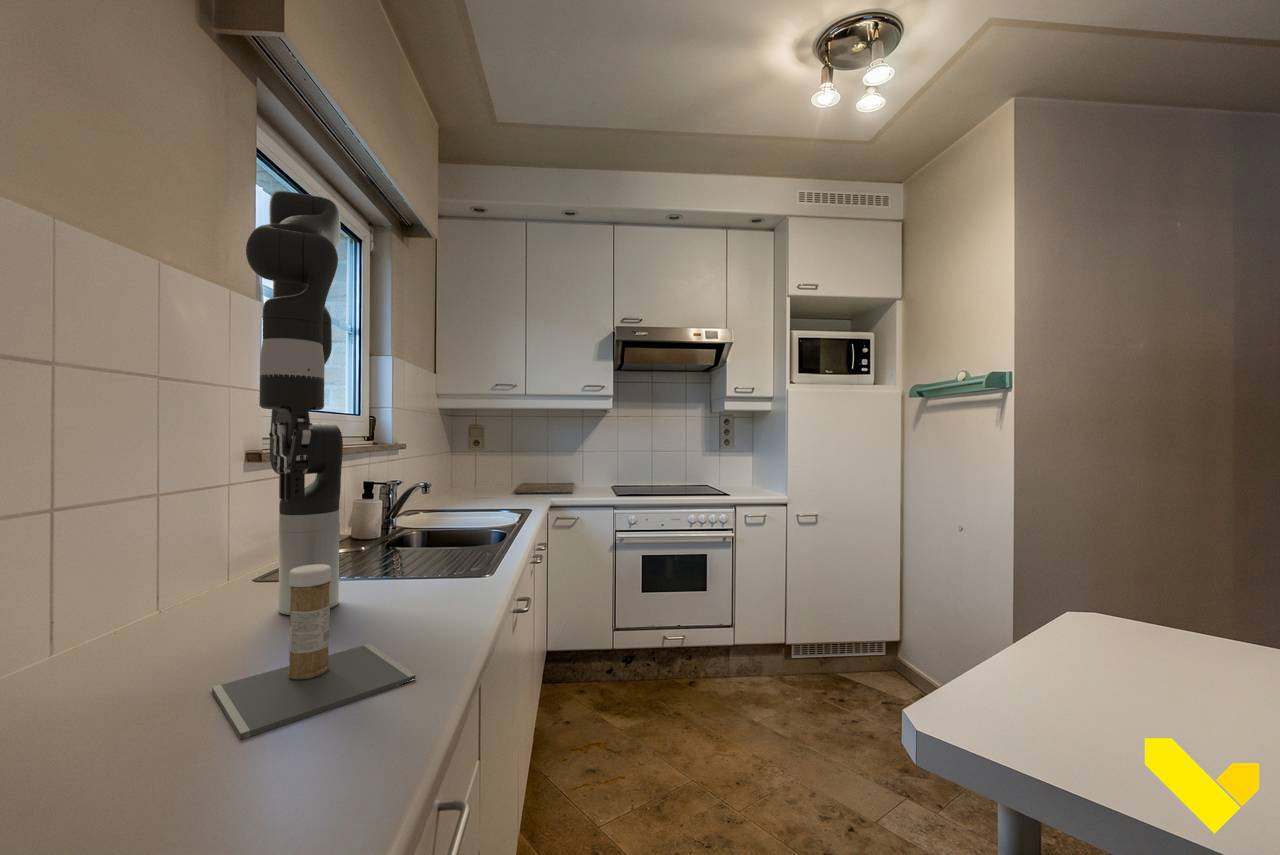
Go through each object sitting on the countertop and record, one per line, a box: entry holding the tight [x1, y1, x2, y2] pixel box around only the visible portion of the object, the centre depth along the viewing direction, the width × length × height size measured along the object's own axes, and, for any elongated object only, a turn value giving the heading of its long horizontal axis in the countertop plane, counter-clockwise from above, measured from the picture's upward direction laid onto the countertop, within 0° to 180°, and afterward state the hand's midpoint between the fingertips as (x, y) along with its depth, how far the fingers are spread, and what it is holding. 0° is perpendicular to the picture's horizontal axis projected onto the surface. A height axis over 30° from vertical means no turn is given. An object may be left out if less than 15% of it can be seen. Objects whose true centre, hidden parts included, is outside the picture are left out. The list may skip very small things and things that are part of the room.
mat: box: [211, 643, 416, 741], centre depth 66 cm, size 15×18×1 cm
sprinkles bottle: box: [288, 564, 331, 679], centre depth 68 cm, size 5×5×14 cm
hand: (291, 499), depth 74 cm, fingers closed
